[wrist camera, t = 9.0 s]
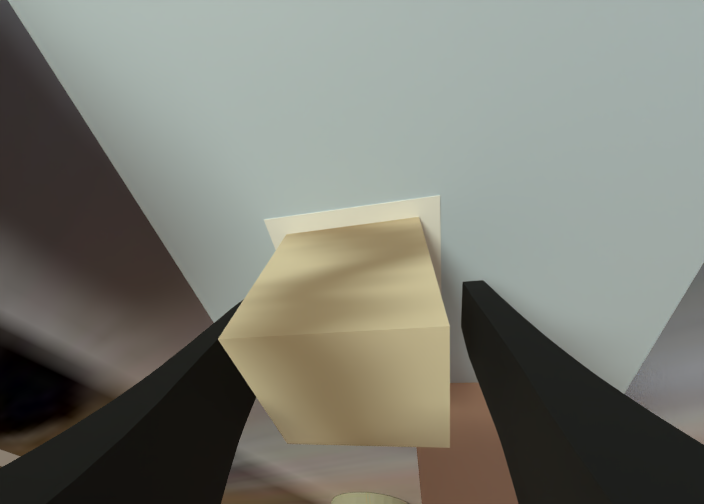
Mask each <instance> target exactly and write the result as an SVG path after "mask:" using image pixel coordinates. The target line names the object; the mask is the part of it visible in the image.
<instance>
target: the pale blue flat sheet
mask: <svg viewBox="0 0 704 504" xmlns="http://www.w3.org/2000/svg"><path fill="white" fill-rule="evenodd" d="M8 1H9V3H10V4H11V6H12V8H13V9H14V11H15V12H16V14H17V15H18V17H19V19H20V20H21V22H22V23H23V25H24V26H25V28H26V29H27V31H28V33H29V34H30V36H31V37H32V39H33V40H34V42H35V44H36V45H37V47H38V48H39V50H40V51H41V53H42V55H43V56H44V58H45V59H46V61H47V62H48V64H49V65H50V67H51V69H52V70H53V72H54V73H55V75H56V76H57V78H58V80H59V81H60V83H61V84H62V86H63V87H64V89H65V91H66V92H67V94H68V95H69V97H70V98H71V100H72V101H73V103H74V105H75V106H76V108H77V109H78V111H79V112H80V114H81V116H82V117H83V119H84V120H85V122H86V123H87V125H88V127H89V128H90V130H91V131H92V133H93V134H94V136H95V137H96V139H97V141H98V142H99V144H100V145H101V147H102V148H103V150H104V152H105V153H106V155H107V156H108V158H109V159H110V161H111V163H112V164H113V166H114V167H115V169H116V170H117V172H118V173H119V175H120V177H121V178H122V180H123V181H124V183H125V184H126V186H127V188H128V189H129V191H130V192H131V194H132V195H133V197H134V199H135V200H136V202H137V203H138V205H139V206H140V208H141V209H142V211H143V213H144V214H145V216H146V217H147V219H148V220H149V222H150V224H151V225H152V227H153V228H154V230H155V231H156V233H157V234H158V236H159V238H160V239H161V241H162V242H163V244H164V245H165V247H166V249H167V250H168V252H169V253H170V255H171V256H172V258H173V260H174V261H175V263H176V264H177V266H178V267H179V269H180V270H181V272H182V274H183V275H184V277H185V278H186V280H187V281H188V283H189V285H190V286H191V288H192V289H193V291H194V292H195V294H196V296H197V297H198V299H199V300H200V302H201V303H202V305H203V306H204V308H205V310H206V311H207V313H208V314H209V316H210V317H211V319H212V321H213V322H214V323H215V322H216V321H217V320H218V319H219V318H221V317H222V316H223V315H224V314H225V313H227V312H228V311H229V310H230V309H231V308H233V307H234V306H235V305H237V304H238V303H239V302H241V301H242V300H243V299H244V298H245V297H246V295H247V294H248V292H249V291H250V289H251V288H252V286H253V285H254V283H255V282H256V280H257V279H258V277H259V275H260V274H261V272H262V271H263V269H264V268H265V266H266V265H267V263H268V262H269V260H270V259H271V257H272V256H273V254H274V253H275V251H276V249H277V248H278V246H279V245H280V243H281V242H282V240H283V239H284V237H285V236H286V234H293V233H300V232H308V231H316V230H323V229H331V228H338V227H346V226H353V225H361V224H369V223H376V222H384V221H391V220H399V219H406V218H414V217H419V219H420V222H421V226H422V229H423V233H424V236H425V240H426V244H427V247H428V251H429V254H430V258H431V261H432V265H433V268H434V272H435V275H436V279H437V282H438V286H439V290H440V293H441V297H442V300H443V304H444V307H445V311H446V314H447V318H448V321H449V325H450V383H478V380H477V378H476V375H475V372H474V370H473V367H472V364H471V362H470V359H469V356H468V353H467V349H466V345H465V341H464V337H463V333H462V329H461V310H462V284H463V282H466V281H478V280H483V281H485V282H486V283H487V284H488V285H489V286H490V287H491V288H492V289H493V290H494V291H495V292H497V293H498V294H499V295H500V296H501V297H502V298H503V299H504V300H505V301H506V302H507V303H508V304H510V305H511V306H512V307H513V308H514V309H515V310H516V311H517V312H518V313H520V314H521V315H522V316H523V317H524V318H525V319H526V320H528V321H529V322H530V323H531V324H532V325H533V326H535V327H536V328H537V329H538V330H539V331H541V332H542V333H543V334H544V335H545V336H547V337H548V338H549V339H550V340H551V341H553V342H554V343H555V344H556V345H558V346H559V347H560V348H562V349H563V350H564V351H565V352H567V353H568V354H569V355H571V356H572V357H573V358H574V359H576V360H577V361H578V362H580V363H581V364H582V365H584V366H585V367H586V368H588V369H589V370H590V371H592V372H593V373H595V374H596V375H597V376H599V377H600V378H602V379H603V380H604V381H606V382H607V383H609V384H610V385H612V386H613V387H615V388H616V389H618V390H619V391H620V392H622V393H623V394H624V393H625V392H626V390H627V388H628V387H629V385H630V383H631V382H632V380H633V378H634V377H635V375H636V373H637V372H638V370H639V369H640V367H641V365H642V364H643V362H644V360H645V359H646V357H647V355H648V354H649V352H650V350H651V349H652V347H653V345H654V344H655V342H656V340H657V339H658V337H659V335H660V334H661V332H662V330H663V329H664V327H665V325H666V324H667V322H668V320H669V319H670V317H671V316H672V314H673V312H674V311H675V309H676V307H677V306H678V304H679V302H680V301H681V299H682V297H683V296H684V294H685V292H686V291H687V289H688V287H689V286H690V284H691V282H692V281H693V279H694V277H695V276H696V274H697V272H698V271H699V269H700V268H701V266H702V264H703V263H704V0H8Z"/></svg>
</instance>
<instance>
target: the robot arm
mask: <svg viewBox="0 0 704 504" xmlns="http://www.w3.org/2000/svg"><path fill="white" fill-rule="evenodd" d="M243 300H244V299H243ZM243 300H242V301H243ZM242 301H241V302H239V303H238V304H237V305H235V306H234V307H233V308H231V309H230V310H229V311H228V312H227V313H225V314H224V315H223V316H222V317H221V318H219V319H218V320H217V321H216V322H215V323H213V324H212V325H211V326H210V327H209V328H207V329H206V330H205V331H204V332H203V333H201V334H200V335H199V336H198V337H197V338H195V339H194V340H193V341H192V342H191V343H189V344H188V345H187V346H186V347H184V348H183V349H182V350H181V351H179V352H178V353H177V354H176V355H174V356H173V357H172V358H170V359H169V360H168V361H167V362H165V363H164V364H163V365H162V366H160V367H159V368H158V369H156V370H155V371H154V372H152V373H151V374H150V375H148V376H147V377H146V378H144V379H143V380H142V381H140V382H139V383H137V384H136V385H134V386H133V387H132V388H130V389H129V390H127V391H126V392H124V393H123V394H122V395H120V396H119V397H117V398H116V399H114V400H113V401H111V402H110V403H108V404H107V405H105V406H104V407H102V408H100V409H99V410H97V411H96V412H94V413H92V414H91V415H89V416H88V417H86V418H85V419H83V420H81V421H80V422H78V423H77V424H75V425H74V426H72V427H70V428H69V429H67V430H66V431H64V432H62V433H61V434H59V435H57V436H56V437H54V438H52V439H51V440H49V441H47V442H45V443H44V444H42V445H40V446H39V447H37V448H35V449H33V450H32V451H30V452H28V453H26V454H25V455H23V456H21V457H19V458H18V459H16V460H14V461H12V462H11V463H9V464H7V465H5V466H3V467H2V468H0V504H221V501H222V497H223V494H224V490H225V486H226V483H227V479H228V475H229V472H230V469H231V465H232V462H233V459H234V456H235V452H236V449H237V446H238V442H239V439H240V437H241V434H242V431H243V428H244V426H245V423H246V421H247V418H248V416H249V413H250V411H251V408H252V406H253V403H254V401H255V398H256V396H255V394H254V393H253V391H252V390H251V388H250V387H249V385H248V384H247V382H246V381H245V379H244V378H243V376H242V375H241V373H240V372H239V370H238V369H237V367H236V366H235V364H234V363H233V361H232V360H231V358H230V357H229V355H228V354H227V352H226V351H225V349H224V348H223V346H222V345H221V343H220V342H219V340H218V338H219V337H220V335H221V334H222V332H223V331H224V329H225V327H226V326H227V324H228V323H229V321H230V320H231V318H232V317H233V315H234V314H235V312H236V311H237V309H238V308H239V306H240V305H241V303H242ZM461 329H462V333H463V337H464V341H465V345H466V349H467V353H468V356H469V359H470V362H471V364H472V367H473V370H474V372H475V375H476V378H477V380H478V383H479V386H480V388H481V391H482V393H483V396H484V399H485V401H486V404H487V406H488V409H489V412H490V414H491V417H492V420H493V422H494V425H495V427H496V430H497V433H498V436H499V439H500V442H501V445H502V448H503V451H504V455H505V458H506V462H507V465H508V469H509V472H510V476H511V479H512V482H513V486H514V489H515V493H516V497H517V500H518V504H704V445H703V444H701V443H700V442H698V441H697V440H695V439H693V438H692V437H690V436H688V435H687V434H685V433H684V432H682V431H680V430H679V429H677V428H676V427H674V426H672V425H671V424H669V423H668V422H666V421H664V420H663V419H661V418H660V417H658V416H656V415H655V414H653V413H652V412H650V411H649V410H647V409H646V408H644V407H643V406H641V405H640V404H638V403H637V402H635V401H633V400H632V399H631V398H629V397H628V396H626V395H625V394H623V393H622V392H620V391H619V390H618V389H616V388H615V387H613V386H612V385H610V384H609V383H607V382H606V381H604V380H603V379H602V378H600V377H599V376H597V375H596V374H595V373H593V372H592V371H590V370H589V369H588V368H586V367H585V366H584V365H582V364H581V363H580V362H578V361H577V360H576V359H574V358H573V357H572V356H571V355H569V354H568V353H567V352H565V351H564V350H563V349H562V348H560V347H559V346H558V345H556V344H555V343H554V342H553V341H551V340H550V339H549V338H548V337H547V336H545V335H544V334H543V333H542V332H541V331H539V330H538V329H537V328H536V327H535V326H533V325H532V324H531V323H530V322H529V321H528V320H526V319H525V318H524V317H523V316H522V315H521V314H520V313H518V312H517V311H516V310H515V309H514V308H513V307H512V306H511V305H510V304H508V303H507V302H506V301H505V300H504V299H503V298H502V297H501V296H500V295H499V294H498V293H497V292H495V291H494V290H493V289H492V288H491V287H490V286H489V285H488V284H487V283H486V282H485V281H483V280H478V281H466V282H463V284H462V310H461Z"/></svg>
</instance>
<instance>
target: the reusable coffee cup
mask: <svg viewBox="0 0 704 504" xmlns="http://www.w3.org/2000/svg"><path fill="white" fill-rule="evenodd" d="M331 504H408V503H407V502H405V501H403V500H400V499H398V498H394V497H391V496H387V495H382V494H376V493H366V492H355V493H346V494H341V495H338V496H336V497H334V498H333V500H332V503H331Z"/></svg>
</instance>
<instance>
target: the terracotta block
mask: <svg viewBox="0 0 704 504" xmlns="http://www.w3.org/2000/svg"><path fill="white" fill-rule="evenodd" d="M417 457H418V467H419V478H420V488H421V499H422V504H518V500H517V497H516V493H515V489H514V486H513V482H512V479H511V476H510V472H509V469H508V465H507V462H506V458H505V455H504V451H503V448H502V445H501V442H500V439H499V436H498V433H497V430H496V427H495V425H494V422H493V420H492V417H491V414H490V412H489V409H488V406H487V404H486V401H485V399H484V396H483V393H482V391H481V388H480V386H479V383H450V448H438V447H417Z"/></svg>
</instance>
